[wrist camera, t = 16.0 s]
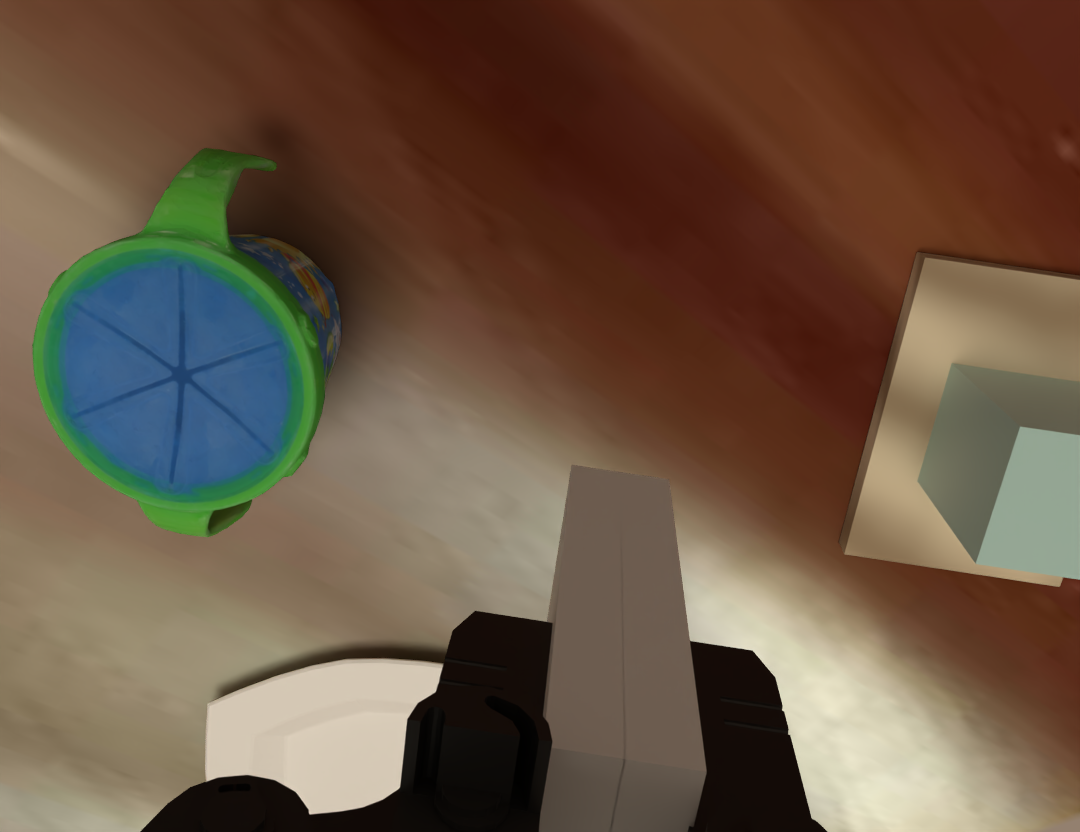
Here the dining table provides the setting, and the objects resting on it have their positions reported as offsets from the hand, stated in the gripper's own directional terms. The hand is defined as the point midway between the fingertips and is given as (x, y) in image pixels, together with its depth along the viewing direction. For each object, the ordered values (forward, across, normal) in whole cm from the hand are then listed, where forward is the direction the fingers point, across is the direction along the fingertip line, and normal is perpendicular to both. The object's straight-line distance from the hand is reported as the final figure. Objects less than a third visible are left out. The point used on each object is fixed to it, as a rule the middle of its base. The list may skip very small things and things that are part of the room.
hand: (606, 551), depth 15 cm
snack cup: (+30, -15, -6) cm, 34 cm away
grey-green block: (+28, +18, -6) cm, 34 cm away
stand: (+29, +18, -6) cm, 35 cm away
